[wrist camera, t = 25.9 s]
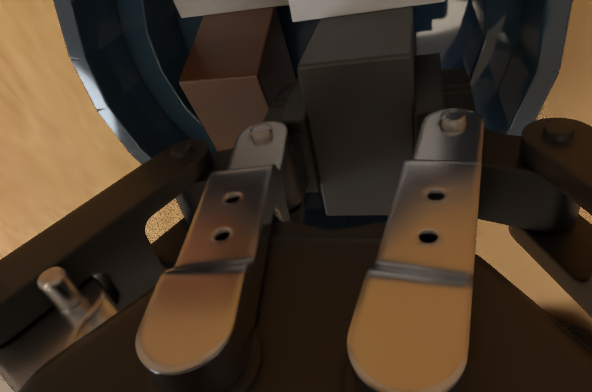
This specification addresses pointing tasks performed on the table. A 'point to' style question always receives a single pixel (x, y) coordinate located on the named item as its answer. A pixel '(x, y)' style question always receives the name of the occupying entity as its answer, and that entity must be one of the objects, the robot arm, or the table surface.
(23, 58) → the table surface
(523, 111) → the bowl
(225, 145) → the brown and grey block
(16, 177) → the table surface
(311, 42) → the dark square-edged block
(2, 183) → the table surface
